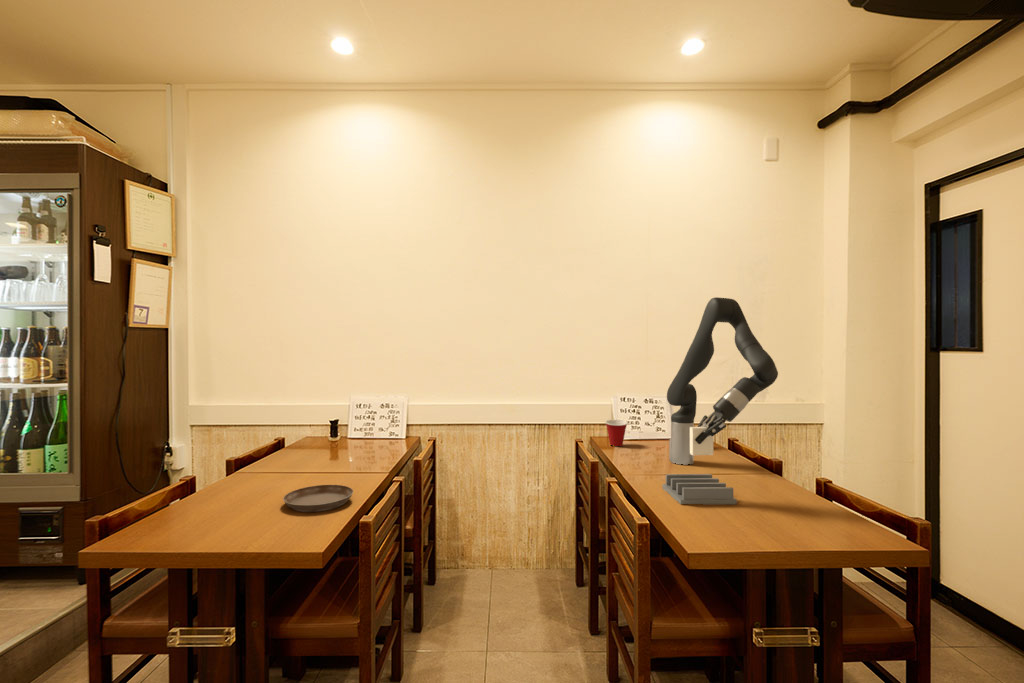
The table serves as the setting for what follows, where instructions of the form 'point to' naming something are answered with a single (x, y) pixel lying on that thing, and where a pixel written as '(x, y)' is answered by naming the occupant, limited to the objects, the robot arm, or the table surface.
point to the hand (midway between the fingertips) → (695, 441)
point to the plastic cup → (616, 431)
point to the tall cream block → (705, 446)
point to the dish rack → (698, 489)
